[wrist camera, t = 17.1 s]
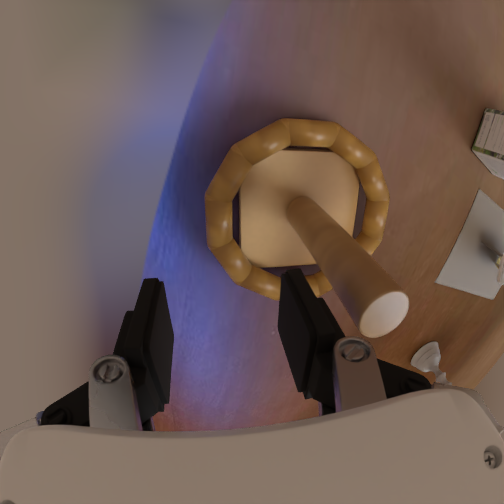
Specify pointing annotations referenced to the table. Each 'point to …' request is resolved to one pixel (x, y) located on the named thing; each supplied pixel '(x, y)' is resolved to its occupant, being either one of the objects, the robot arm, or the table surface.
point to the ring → (258, 150)
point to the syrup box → (491, 141)
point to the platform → (478, 251)
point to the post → (317, 231)
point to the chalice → (429, 361)
